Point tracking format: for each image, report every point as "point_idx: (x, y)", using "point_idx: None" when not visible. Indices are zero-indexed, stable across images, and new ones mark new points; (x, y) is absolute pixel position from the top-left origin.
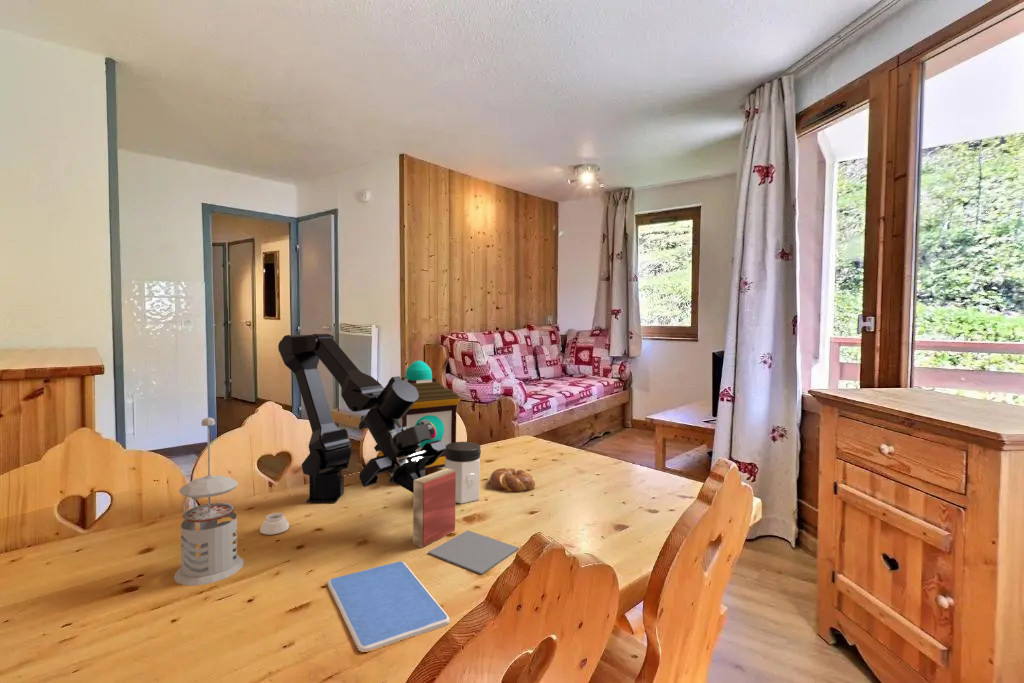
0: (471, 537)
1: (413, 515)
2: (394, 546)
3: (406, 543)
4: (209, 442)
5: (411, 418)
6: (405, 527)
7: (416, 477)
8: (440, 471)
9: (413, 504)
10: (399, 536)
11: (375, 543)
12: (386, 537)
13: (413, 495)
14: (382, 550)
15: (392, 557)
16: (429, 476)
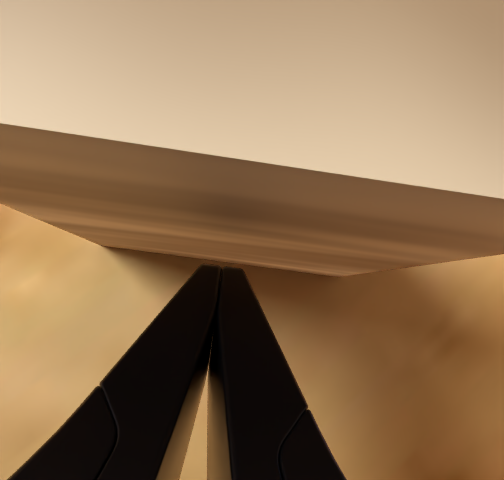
0: None
1: (398, 267)
2: (399, 339)
3: (347, 310)
4: None
5: None
6: (205, 440)
7: (267, 470)
8: (2, 71)
9: (442, 261)
10: (306, 392)
11: (424, 444)
12: (349, 444)
13: (498, 254)
14: (456, 361)
15: (477, 276)
16: (377, 95)
